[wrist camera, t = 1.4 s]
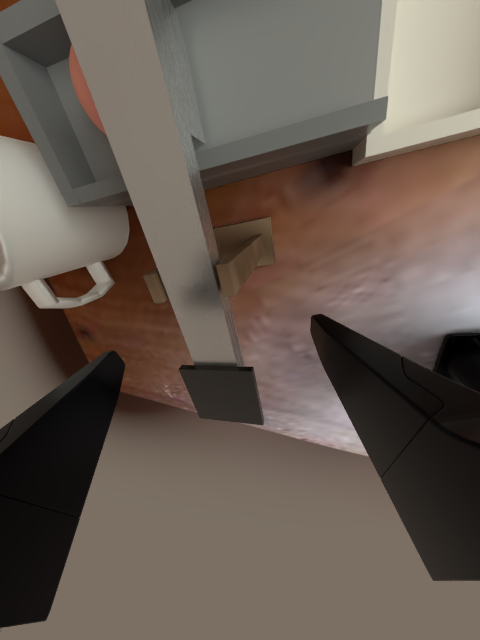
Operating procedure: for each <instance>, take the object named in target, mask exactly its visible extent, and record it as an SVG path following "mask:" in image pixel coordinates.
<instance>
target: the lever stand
mask: <svg viewBox="0 0 480 640" xmlns="http://www.w3.org/2000/svg"><path fill="white" fill-rule="evenodd" d="M213 232H214V236H215V241H216V245H217V249H218V253H219V258H220V263H218V264H217V265H216V268H217V272H218V276H219V280H220V284H221V288H222V292H223V296H224V297H233V296H236V294H237V293H238V291H239V290H240V288H241V287H242V285H243V284H244V282H245V281H246V279H247V278H248V276H249V275H250V273H251V272H252V270H253V269H254V268H255V267H256V266H264V265H271V264H275V253H274V243H273V234H272V225H271V217H268V218H263V219H258V220H253V221H248V222H243V223H238V224H234V225H229V226H224V227H219V228H214V229H213ZM143 277H144V280H145V282H146V285H147V287H148V289H149V292H150V294H151V296H152V299H153V301H154V303H164V302H165V301H166V300H168V299H169V297H168V294H167V292H166V289H165V287H164V284H163V281H162V279H161V276H160V273H159V271H158V269H157V270H154V271H152V272H150V273H148V274H146V275H144V276H143Z"/></svg>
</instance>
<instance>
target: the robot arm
mask: <svg viewBox="0 0 480 640" xmlns="http://www.w3.org/2000/svg"><path fill="white" fill-rule="evenodd" d="M310 331H311V336H312V338H313V341H314V344H315V346H316V349H317V352H318V355H319V357H320V360H321V363H322V365H323V367H324V369H325V371H326V373H327V375H328V377H329V379H330V381H331V383H332V385H333V387H334V389H335V391H336V393H337V395H338V397H339V399H340V400H341V402H342V404H343V406H344V408H345V410H346V412H347V414H348V416H349V418H350V420H351V422H352V424H353V426H354V428H355V430H356V432H357V434H358V436H359V438H360V440H361V441H362V443H363V445H364V447H365V449H366V451H367V453H368V455H369V457H370V459H371V461H372V463H373V465H374V467H375V469H376V471H377V473H378V475H379V477H380V478H381V481H382V483H383V485H384V487H385V489H386V490H387V493H388V494H389V496H390V498H391V500H392V502H393V504H394V506H395V508H396V510H397V512H398V514H399V516H400V518H401V520H402V522H403V524H404V526H405V528H406V529H407V531H408V533H409V536H410V537H411V539H412V541H413V543H414V545H415V547H416V549H417V551H418V553H419V555H420V557H421V559H422V561H423V563H424V565H425V567H426V569H427V570H428V572H429V574H430V576H431V578H432V580H433V581H480V333H456V334H449V335H447V336H445V338H444V341H443V344H442V347H441V350H440V353H439V355H438V358H437V361H436V364H435V367H434V370H433V371H431V370H429V369H427V368H425V367H423V366H421V365H419V364H417V363H415V362H413V361H411V360H409V359H407V358H405V357H403V356H402V357H401V355H399V354H397V353H395V352H393V351H392V350H390V349H388V348H386V347H384V346H382V345H380V344H378V343H376V342H374V341H372V340H370V339H369V338H367V337H365V336H363V335H361V334H359V333H357V332H355V331H353V330H351V329H349V328H348V327H346V326H344V325H342V324H340V323H338V322H336V321H334V320H332V319H330V318H328V317H327V316H325V315H323V314H317V315H313V316H312V317H311V328H310ZM453 338H454V339H453ZM451 339H453V340H451ZM124 369H125V363H124V361H123V360H122V359H121V357H120V356H119V355H118V354H117V352H115V351H107V352H104V353H102V354H101V355H100V356H98V357H97V358H96V359H94V360H93V361H92V362H90V363H89V364H88V365H86V366H85V367H84V368H82V369H81V370H80V371H78V372H77V373H76V374H74V375H73V376H71V377H70V378H69V379H68V380H66V381H65V382H63V383H62V384H61V385H59V386H58V387H57V388H55V389H54V390H53V391H51V392H50V393H48V394H47V395H46V396H44V397H43V398H42V399H40V400H39V401H38V402H36V403H35V404H34V405H32V406H31V407H30V408H28V409H27V410H25V411H24V412H23V413H21V414H20V415H19V416H18V417H16V418H15V419H13V420H12V421H11V422H9V423H8V424H6V425H5V426H4V427H3V428H1V429H0V632H1V630H2V628H3V627H10V626H16V625H23V624H29V623H35V622H42V621H46V619H47V617H48V615H49V613H50V610H51V607H52V604H53V601H54V598H55V595H56V591H57V588H58V585H59V582H60V579H61V576H62V573H63V570H64V566H65V563H66V560H67V557H68V554H69V550H70V548H71V544H72V542H73V538H74V535H75V532H76V529H77V526H78V523H79V520H80V518H79V517H80V516H81V513H82V510H83V507H84V503H85V500H86V497H87V494H88V491H89V488H90V485H91V482H92V479H93V476H94V472H95V469H96V466H97V463H98V460H99V457H100V454H101V450H102V448H103V444H104V441H105V438H106V435H107V432H108V429H109V426H110V423H111V419H112V416H113V413H114V410H115V407H116V404H117V401H118V397H119V393H120V388H121V384H122V379H123V374H124Z"/></svg>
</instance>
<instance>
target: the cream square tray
mask: <svg viewBox="0 0 480 640" xmlns="http://www.w3.org/2000/svg"><path fill="white" fill-rule="evenodd" d="M385 96H388V105H387V114H386V120H384V121H383V122H382V123H381V124H379V125H378V126H377V127H375V128H374V129H373V130H372V131H371V133H370V134H369V135H367V136H366V137H365V138H364V139H363V140H362V141H361V142H360V143H359V144H358V145H357V146H356V147H355V148H354V149H353V155H352V166H356V165H360V164H364V163H368V162H372V161H376V160H380V159H384V158H388V157H392V156H396V155H400V154H404V153H408V152H412V151H416V150H420V149H424V148H428V147H432V146H436V145H440V144H444V143H448V142H452V141H456V140H460V139H464V138H467V137H471V136H475V135H479V134H480V0H382V10H381V22H380V33H379V45H378V57H377V69H376V80H375V92H374V100H375V99H379V98H382V97H385Z"/></svg>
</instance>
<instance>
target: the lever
mask: <svg viewBox="0 0 480 640" xmlns="http://www.w3.org/2000/svg"><path fill="white" fill-rule="evenodd" d="M55 1H56V4H57V7H58V9H59V12H60V14H61V17H62V20H63V22H64V25H65V28H66V30H67V33H68V35H69V38H70V41H71V43H72V46H73V48H74V51H75V54H76V56H77V59H78V62H79V64H80V67H81V69H82V72H83V75H84V77H85V80H86V82H87V85H88V88H89V90H90V93H91V96H92V98H93V101H94V103H95V106H96V109H97V111H98V114H99V117H100V119H101V122H102V124H103V127H104V130H105V132H106V135H107V137H108V140H109V143H110V145H111V148H112V151H113V153H114V156H115V158H116V161H117V164H118V166H119V169H120V171H121V174H122V177H123V179H124V182H125V185H126V187H127V190H128V192H129V195H130V198H131V200H132V203H133V205H134V208H135V211H136V213H137V216H138V219H139V221H140V224H141V226H142V229H143V232H144V234H145V237H146V239H147V242H148V245H149V247H150V250H151V253H152V255H153V258H154V260H155V263H156V266H157V268H158V271H159V273H160V276H161V279H162V281H163V284H164V287H165V289H166V292H167V294H168V297H169V300H170V302H171V305H172V307H173V310H174V313H175V315H176V318H177V321H178V323H179V326H180V328H181V331H182V334H183V336H184V339H185V341H186V344H187V347H188V349H189V352H190V355H191V357H192V360H193V362H194V365H181V367H180V368H179V371H180V373H181V376H182V378H183V380H184V382H185V385H186V387H187V389H188V392H189V394H190V396H191V399H192V401H193V403H194V405H195V408H196V410H197V412H198V415H199V417H200V418H205V419H213V420H222V421H231V422H240V423H249V424H257V425H264V416H263V412H262V407H261V402H260V397H259V392H258V388H257V383H256V378H255V373H254V368H253V367H245V365H244V361H243V356H242V352H241V348H240V344H239V339H238V335H237V331H236V326H235V322H234V318H233V313H232V309H231V305H230V301H229V297H224V296H223V292H222V288H221V284H220V280H219V276H218V272H217V268H216V265H217V264H218V263H220V258H219V253H218V249H217V245H216V241H215V236H214V232H213V228H212V223H211V219H210V215H209V210H208V206H207V202H206V198H205V193H204V189H203V185H202V180H201V176H200V172H199V168H198V163H197V159H196V155H195V150H194V148H196V147H199V146H202V145H205V144H206V143H205V138H204V133H203V129H202V124H201V119H200V114H199V109H198V105H197V100H196V95H195V90H194V86H193V81H192V76H191V71H190V67H189V62H188V57H187V52H186V48H185V43H184V38H183V33H182V29H181V24H180V19H179V15H178V13H177V12H176V10H175V8H174V7H173V5H172V4H171V2H170V0H55Z"/></svg>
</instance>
